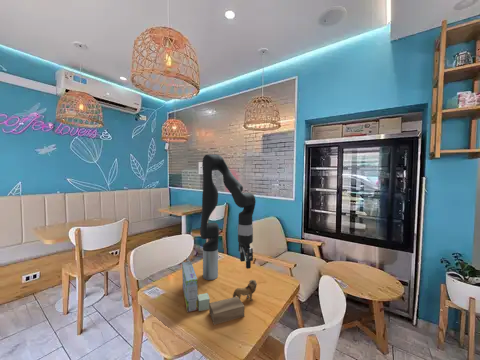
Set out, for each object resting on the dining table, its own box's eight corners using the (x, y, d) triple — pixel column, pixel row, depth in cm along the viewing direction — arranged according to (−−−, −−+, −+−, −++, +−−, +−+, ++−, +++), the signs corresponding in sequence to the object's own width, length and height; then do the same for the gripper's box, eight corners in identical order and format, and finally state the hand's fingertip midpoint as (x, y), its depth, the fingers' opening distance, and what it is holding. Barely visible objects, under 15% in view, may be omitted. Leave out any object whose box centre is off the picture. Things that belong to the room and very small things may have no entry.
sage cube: (197, 305, 102) (197, 294, 102) (207, 302, 103) (207, 293, 103) (198, 311, 97) (198, 300, 97) (209, 309, 99) (209, 298, 98)
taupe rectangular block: (209, 313, 96) (209, 303, 96) (237, 306, 101) (237, 296, 101) (213, 325, 88) (214, 313, 88) (244, 317, 94) (244, 306, 93)
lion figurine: (253, 293, 111) (253, 276, 111) (258, 298, 107) (259, 281, 107) (228, 301, 104) (228, 284, 104) (233, 307, 100) (233, 289, 99)
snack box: (181, 289, 115) (181, 262, 115) (192, 287, 117) (191, 260, 117) (186, 313, 96) (186, 280, 95) (198, 310, 98) (198, 278, 97)
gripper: (233, 229, 111) (233, 260, 111) (243, 237, 97) (243, 272, 98) (247, 228, 113) (247, 258, 113) (258, 236, 100) (257, 269, 100)
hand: (245, 264), depth 106 cm, fingers open, 8 cm apart
